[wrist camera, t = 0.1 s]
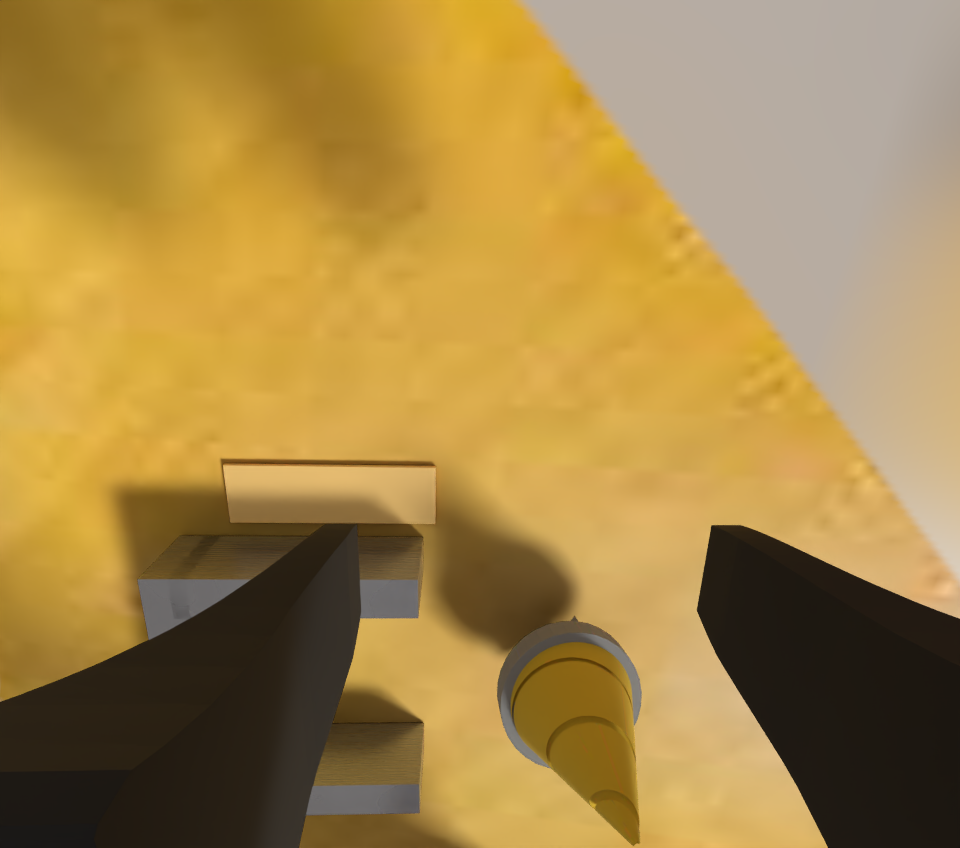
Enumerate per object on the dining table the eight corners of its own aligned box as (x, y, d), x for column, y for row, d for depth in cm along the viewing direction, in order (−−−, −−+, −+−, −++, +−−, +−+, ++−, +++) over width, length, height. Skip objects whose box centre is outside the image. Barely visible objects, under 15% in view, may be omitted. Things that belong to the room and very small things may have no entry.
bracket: (423, 749, 25) (419, 813, 22) (214, 752, 25) (182, 817, 22) (423, 536, 22) (418, 579, 19) (180, 535, 21) (137, 579, 19)
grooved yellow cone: (472, 692, 24) (506, 920, 14) (511, 577, 23) (574, 725, 13) (585, 721, 24) (695, 958, 14) (624, 609, 24) (764, 774, 14)
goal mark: (435, 521, 22) (435, 523, 21) (232, 520, 21) (230, 522, 21) (435, 466, 21) (435, 467, 21) (225, 463, 21) (223, 465, 20)
